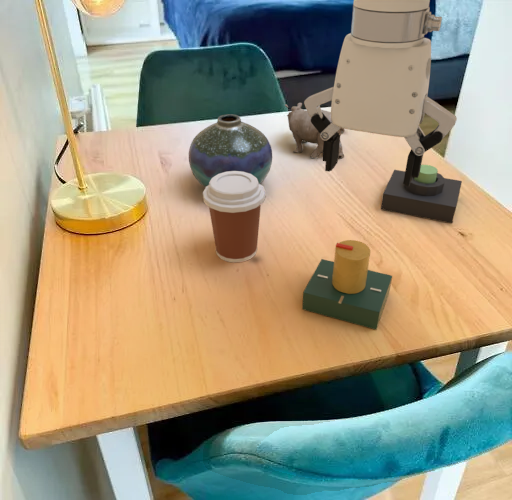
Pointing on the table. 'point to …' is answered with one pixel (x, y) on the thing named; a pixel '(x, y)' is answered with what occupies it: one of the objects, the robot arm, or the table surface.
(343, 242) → the knob
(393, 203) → the button base
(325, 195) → the table surface
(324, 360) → the table surface
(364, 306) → the panel
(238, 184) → the coffee cup
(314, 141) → the rhinoceros figurine
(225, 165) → the vase
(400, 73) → the robot arm
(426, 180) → the green short cylinder
